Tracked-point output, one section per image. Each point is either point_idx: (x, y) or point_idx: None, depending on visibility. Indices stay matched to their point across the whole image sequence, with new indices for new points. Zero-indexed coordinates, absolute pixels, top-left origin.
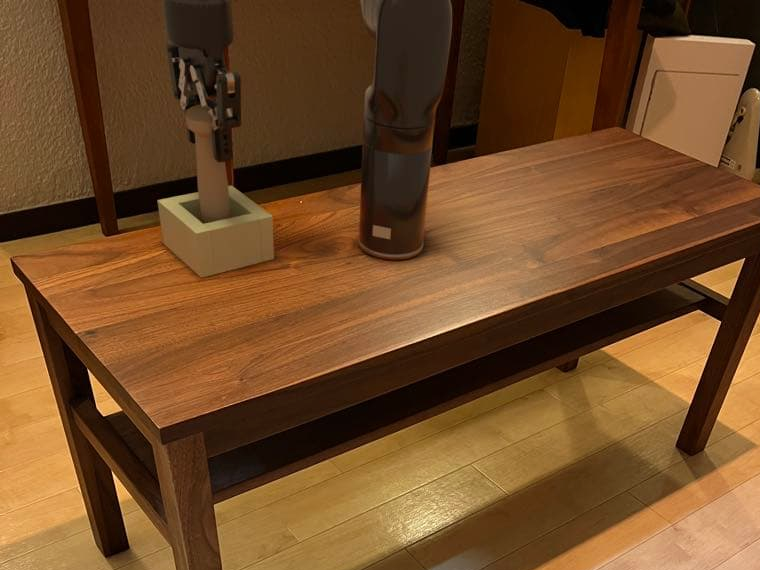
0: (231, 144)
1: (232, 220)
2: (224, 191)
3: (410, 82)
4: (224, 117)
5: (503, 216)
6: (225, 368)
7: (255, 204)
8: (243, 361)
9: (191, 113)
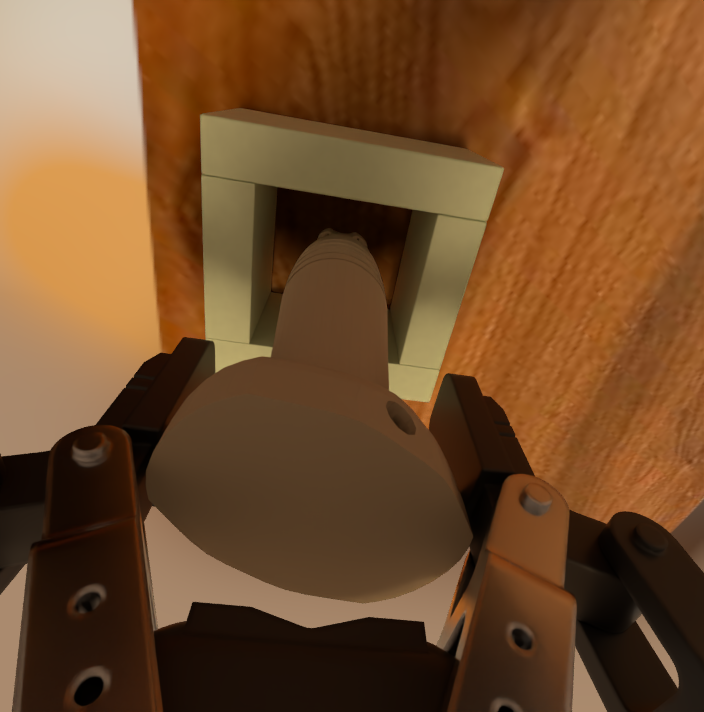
0: (490, 414)
1: (435, 294)
2: (386, 305)
3: None
4: (652, 660)
5: None
6: (650, 461)
7: (393, 154)
8: (665, 437)
9: (273, 564)
